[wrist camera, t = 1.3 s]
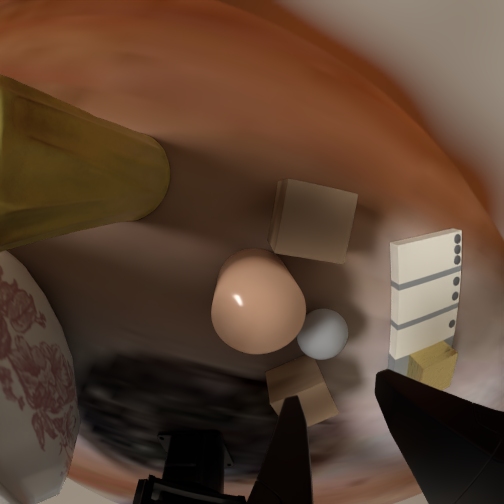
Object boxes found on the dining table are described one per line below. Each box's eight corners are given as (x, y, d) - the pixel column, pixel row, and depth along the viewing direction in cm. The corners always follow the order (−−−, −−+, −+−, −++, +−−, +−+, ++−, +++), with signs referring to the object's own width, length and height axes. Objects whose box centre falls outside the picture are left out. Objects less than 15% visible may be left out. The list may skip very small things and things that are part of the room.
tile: (436, 372, 21) (449, 386, 19) (404, 387, 21) (416, 402, 19) (442, 340, 20) (457, 352, 18) (409, 354, 20) (423, 369, 18)
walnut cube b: (323, 249, 19) (343, 264, 15) (267, 240, 19) (274, 253, 15) (334, 193, 18) (358, 194, 14) (278, 181, 18) (288, 178, 14)
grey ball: (339, 337, 21) (355, 361, 17) (295, 347, 21) (305, 375, 17) (337, 296, 20) (355, 316, 16) (289, 306, 20) (299, 329, 16)
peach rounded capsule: (294, 309, 20) (310, 344, 15) (226, 322, 20) (223, 360, 15) (283, 241, 19) (299, 259, 14) (210, 255, 19) (201, 278, 14)
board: (441, 361, 22) (447, 368, 21) (386, 385, 22) (391, 393, 21) (452, 228, 19) (462, 230, 18) (389, 242, 19) (398, 245, 18)
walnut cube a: (325, 383, 22) (339, 413, 18) (283, 401, 22) (290, 433, 18) (311, 351, 21) (324, 381, 17) (265, 371, 21) (270, 403, 17)
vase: (189, 178, 18) (54, 147, 4) (126, 238, 18) (-35, 326, 4) (136, 116, 16) (-10, 24, 2) (78, 177, 17) (-89, 182, 3)
